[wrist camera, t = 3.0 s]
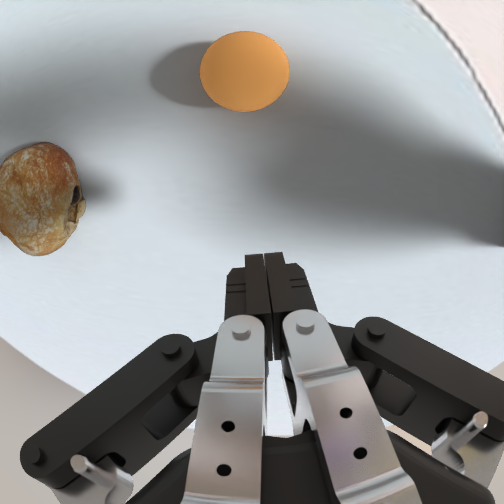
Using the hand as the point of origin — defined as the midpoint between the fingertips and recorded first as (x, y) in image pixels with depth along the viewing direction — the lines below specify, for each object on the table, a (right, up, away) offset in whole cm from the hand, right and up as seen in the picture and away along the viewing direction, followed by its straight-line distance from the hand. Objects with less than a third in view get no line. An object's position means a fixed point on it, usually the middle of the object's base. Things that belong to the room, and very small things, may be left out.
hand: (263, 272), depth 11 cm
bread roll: (-20, +6, +9) cm, 22 cm away
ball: (-1, +12, +3) cm, 12 cm away
